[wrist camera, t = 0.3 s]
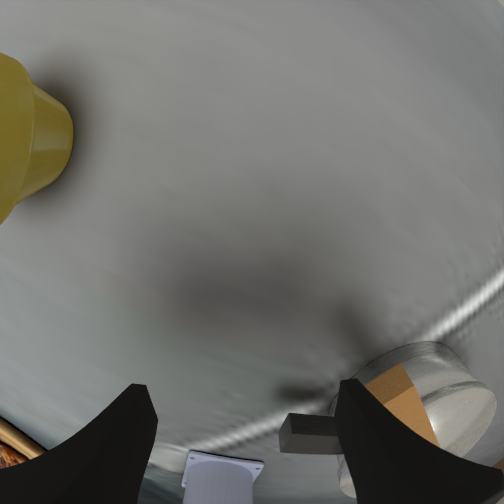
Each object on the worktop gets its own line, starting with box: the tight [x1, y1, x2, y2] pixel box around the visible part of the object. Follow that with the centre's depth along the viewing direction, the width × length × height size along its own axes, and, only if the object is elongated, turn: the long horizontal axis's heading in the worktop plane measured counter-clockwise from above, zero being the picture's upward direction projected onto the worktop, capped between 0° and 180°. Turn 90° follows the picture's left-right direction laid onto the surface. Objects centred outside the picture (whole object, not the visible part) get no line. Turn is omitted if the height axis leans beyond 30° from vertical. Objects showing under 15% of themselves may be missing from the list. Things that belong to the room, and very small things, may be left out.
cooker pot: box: [278, 342, 477, 465], centre depth 20 cm, size 22×14×6 cm, turn 75°
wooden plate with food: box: [0, 418, 46, 469], centre depth 27 cm, size 32×32×8 cm
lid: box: [338, 363, 497, 498], centre depth 15 cm, size 20×15×3 cm
